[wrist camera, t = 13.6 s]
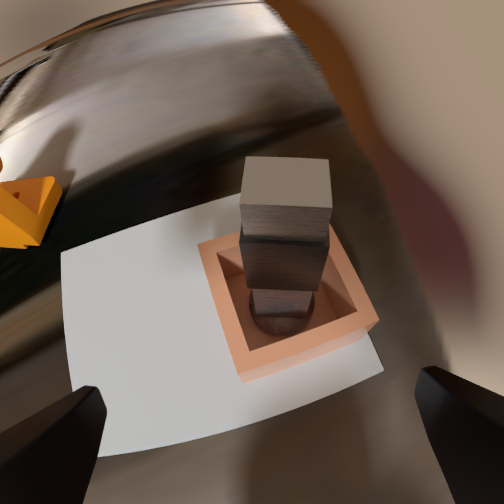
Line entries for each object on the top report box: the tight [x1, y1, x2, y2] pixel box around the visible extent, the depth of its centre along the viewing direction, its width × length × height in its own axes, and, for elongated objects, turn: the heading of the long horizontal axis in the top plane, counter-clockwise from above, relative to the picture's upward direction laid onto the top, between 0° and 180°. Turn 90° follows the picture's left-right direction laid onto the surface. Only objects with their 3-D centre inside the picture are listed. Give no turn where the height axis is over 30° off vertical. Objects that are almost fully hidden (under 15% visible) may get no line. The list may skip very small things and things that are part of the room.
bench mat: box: [61, 193, 384, 457], centre depth 23 cm, size 18×22×1 cm
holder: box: [197, 223, 379, 384], centre depth 21 cm, size 8×8×4 cm
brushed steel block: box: [239, 157, 333, 337], centre depth 17 cm, size 4×4×12 cm
